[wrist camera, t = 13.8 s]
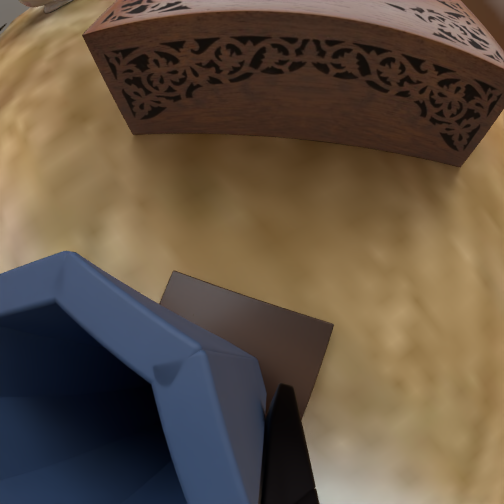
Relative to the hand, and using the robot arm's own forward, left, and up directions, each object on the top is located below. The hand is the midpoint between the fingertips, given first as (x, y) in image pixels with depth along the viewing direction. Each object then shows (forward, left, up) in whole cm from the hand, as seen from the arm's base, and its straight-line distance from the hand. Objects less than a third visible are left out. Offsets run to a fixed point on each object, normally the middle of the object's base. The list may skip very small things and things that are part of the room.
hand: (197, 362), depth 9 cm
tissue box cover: (+22, -4, -8) cm, 24 cm away
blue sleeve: (-1, 0, -7) cm, 7 cm away
